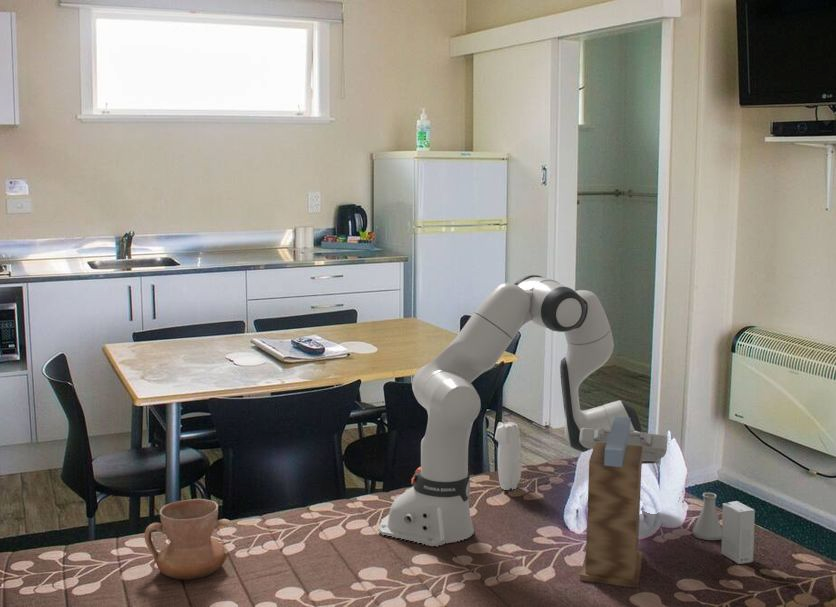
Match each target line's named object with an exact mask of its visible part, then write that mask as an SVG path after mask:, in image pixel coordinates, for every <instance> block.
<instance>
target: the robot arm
mask: <svg viewBox="0 0 836 607" xmlns="http://www.w3.org/2000/svg"><path fill="white" fill-rule="evenodd" d="M530 321H532V322H533V324H535V325H538V326H539V327H543V328H545V329H549V330H551V331H552V332H559V333H563V332H564V335H565V339H566V343H567V350H566V354H565V356H564V357H563V358H562V359H561V360H560V365H559V369H560V370H559V371H560V384H561V393H562V401H563V402H562V403H563V410H564V434H565V438H566V441H567V443H568V444H569V446H570V447H571V449H572V448H573V449H574V450H576V451H579V452H581V453H585V452H588V451H590V450H593V449H594V446H595V443H596V442H602V443H607V440H608V437H609V434H610V431H611V428H612V424H613V421H614V418H615V417H625V418H631V421H630V435H629V439H628V443H627V445H635V446H642V465H643V464H645V465H646V464H660V463H661V459H662V458H664V457H665V456H666V454H667V451H668V435H664V434H657V433H656V434H655V433H648V432H646V431H645V432H644V431H642V430H643V429H642V427H641V426H642V425H641V422H640V420H639V417H638V414H637V411H636V410H635V408H634V407H633V406H632V405H631V404H630V403H628V402H627V401H624V400H622V399H620V400H616V401H612V402H611V401H610V402H609V403H604V404H603V405H599V406H596V407H593V408H589V409H583V410H582V409H581V406H580V405H581V404H580V395H579V388H580V387H581V386H580V385H581V384H582V383H583V381H584V380H585V379H586V378H588V377H589V376H590V375H591V374H593V373H594V372H596V371H598V369H600V368H601V367H603V366H604V365H605V364H606V363H607V362H608V361H609V359H610V357H611V356H612V354H613V352H614V347H615V346H614V345H615V343H614V338H613V333H612V328H611V324H610V322H609V319H608V317H607V314H606V311H605V309H604V308H603V305H602V303H601V301H600V299H599V297H598V296H597V295H596V294H595V293H594V292H592V291H591V290H586V289H579V290H575V289H572V288H570V287H568V286H565V285H564V284H561V283H560V282H558V281H557V280H554V279H551V278H546V277H543V276H541V275H534V274H530V275H526V276H523V277H522V278H519V279H518V280H517V281H516V282H515V283H511V282H504V283H500V284H497V286H496V287H495V288H494V289H493V290H492V291H491V292H489V294H488V295H486V297H485V298H484V299H483V300H482V302H481V303H480V304H479V306H477V308H476V309H475V310H474V312H473V313H472V315H471V316H470V317H469V319H468V320H467V322H466V323H465V324H464V326H463V327H462V329H461V330H460V331H459V332H458V334H457V335H456V337H455V338H454V339H453V340H452V341H451V342H450V343H449V344H448V345H447V346H446V348H444V349H443V350H442V351H441V352H440V353H439V354H438V355H437V356H436V357H434V359H432V360H431V361H430V362H428V363H427V364H426V365H423V366H421V367H420V368H418V369H417V371H416V372H415V373H414V375H413V378H412V380H411V387H412V388H411V389H412V392H413V395H414V397H415V400H416V401H417V402H418V404H420V406H422V407H423V408H424V409H425V410H426V412H427V425H426V430H425V434H424V436H423V438H421V442H420V466H419V467H418V468H417V469H416V470H415V472H414V474H413V476H412V477H411V485H412V487H410V488H409V489H407V490H405V491H404V492H403V493H402V494H400V495H398V496H397V497H396V498H395V499H394V501H393V502H392V504H391V505H390V508H389V512H388V514H387V515H386V516H385V517H384V518H383V519H382V520H381V522H380V523H379V527H378V531H379V532H380V533H381V534H382V535H381V534H380V533H379V532H378V533H379V534H380V535H381V536H384V535H387V536H386V537H388V536H392V537H391V538H393V537H396V538H395V539H397V538H401V539H400V540H402V539H406V540H410V541H414V542H413V543H415V542H417V543H416V544H419V543H422V544H421V545H424V544H425V545H426V546H429V547H433V546H436V547H440V546H443V545H446V544H451V543H458V542H461V541H460V540H462V541H464V539H465V540H466V539H469V538H471V537H472V536H473V535H474V533H475V530H474V529H475V528H474V526H473V522H472V517H471V513H470V512H471V511H470V504H469V503H470V502H469V498H470V494H471V479H470V473H469V470H468V469H469V465H468V464H469V443H470V441H469V440H470V436H471V432H472V428H473V423H474V421H475V420H476V419H477V417H478V416H479V414H480V411H481V408H482V407H481V406H482V405H481V398H480V395H479V393H478V392H477V390H476V388H475V387H474V385H473V384H472V383H473V382H474V380H476V379H478V377H480V375H483V373H485V372H487V371H488V370H491V369H492V368H494V367H495V366H496V364H497V363H498V361H499V360H500V359H501V357H502V355H503V354H504V353H505V351H506V350H507V349H508V347H509V346H510V344H512V341H513V340H514V338H515V337H516V336H517V335H518V333H519V331H520V329H521V328H522V327H523V326H524V325H526V324H527V323H528V322H530ZM406 540H405V541H406ZM410 541H409V542H410ZM457 541H458V542H457ZM445 543H446V544H445ZM425 545H424V546H425ZM439 545H440V546H439Z"/></svg>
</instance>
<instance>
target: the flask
mask: <svg viewBox="0 0 836 607" xmlns="http://www.w3.org/2000/svg"><path fill="white" fill-rule="evenodd" d="M702 497H703V500H702V501H703V503H702V507H701V511H700V513H699V516H698V518H697V520H696V522H695V524H694V526H693V529H692V530H691V534H692V535H693V536H694V537H695V538H696V539H701V540H706V541H722V525H721V523H720V520H719V518H718V516H719V515H718V513H717V507H716V499H717V497H718V495H717V494H716V493H714V492H703V494H702Z"/></svg>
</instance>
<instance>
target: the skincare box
mask: <svg viewBox="0 0 836 607" xmlns="http://www.w3.org/2000/svg"><path fill="white" fill-rule="evenodd" d="M721 514H722V518H721V519H722V521H721V523H722V524H721V529H722V539H721V554H722V555H723V556H725V557H726V558H728V559H729V560H731V561H734V562H735V563H736V564H738V565H744V564H748V563H752V562H754V549H755V548H754V547H755V522H756V521H755V514H756V510H755V509H754V508H752V507H750V506H748V505H746V504H743V503H741V502H740V501H738V500H735V501H729V502H724V503H722V513H721Z"/></svg>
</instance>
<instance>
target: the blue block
mask: <svg viewBox="0 0 836 607" xmlns="http://www.w3.org/2000/svg"><path fill="white" fill-rule="evenodd" d="M630 421H631V418H625V417H615V418H614V421H613V424H612V428H611V431H610V434H609V437H608V440H607V444H606V447H605V459H604V466H615V467H622V464H623V460H624V456H625V452H626V447H627V443H628V439H629V435H630Z"/></svg>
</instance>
